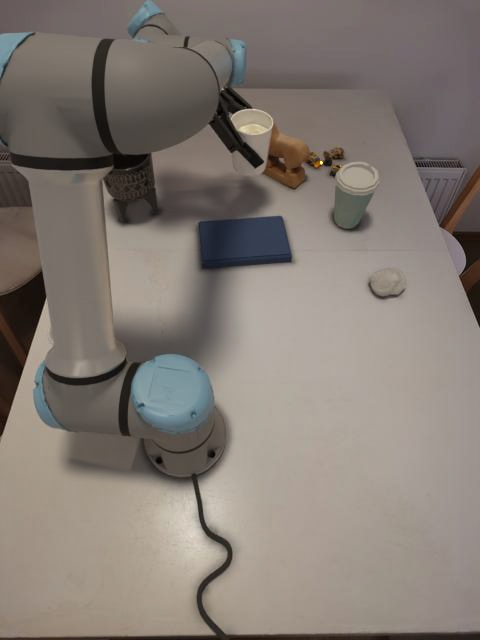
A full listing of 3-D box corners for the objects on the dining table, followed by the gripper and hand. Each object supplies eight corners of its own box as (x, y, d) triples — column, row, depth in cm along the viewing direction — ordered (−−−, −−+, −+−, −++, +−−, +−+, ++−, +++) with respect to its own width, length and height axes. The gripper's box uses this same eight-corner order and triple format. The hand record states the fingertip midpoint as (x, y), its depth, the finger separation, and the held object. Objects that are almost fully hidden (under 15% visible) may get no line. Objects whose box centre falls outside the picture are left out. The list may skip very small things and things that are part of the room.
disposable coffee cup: (347, 240, 111) (362, 194, 98) (316, 218, 115) (327, 171, 102) (373, 221, 115) (390, 175, 102) (342, 200, 119) (356, 153, 106)
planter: (165, 196, 118) (156, 138, 104) (155, 229, 111) (144, 172, 97) (119, 192, 119) (103, 134, 104) (106, 225, 112) (87, 168, 97)
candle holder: (221, 166, 107) (221, 121, 97) (247, 148, 111) (249, 103, 101) (252, 184, 104) (254, 140, 94) (277, 164, 108) (282, 120, 98)
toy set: (359, 163, 128) (363, 149, 124) (335, 181, 123) (338, 166, 119) (327, 145, 132) (330, 131, 128) (303, 161, 128) (305, 147, 124)
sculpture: (261, 155, 129) (264, 106, 117) (307, 179, 124) (315, 131, 111) (247, 165, 127) (249, 116, 114) (294, 190, 121) (301, 142, 108)
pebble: (377, 268, 106) (383, 254, 102) (408, 283, 103) (415, 269, 99) (361, 290, 102) (367, 277, 98) (393, 307, 99) (400, 294, 95)
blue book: (291, 261, 106) (292, 255, 104) (202, 268, 105) (201, 262, 103) (281, 221, 114) (282, 215, 112) (198, 227, 112) (198, 221, 110)
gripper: (196, 63, 100) (259, 134, 112) (169, 115, 88) (243, 189, 100) (217, 41, 95) (281, 118, 107) (192, 93, 83) (267, 173, 95)
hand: (263, 152), depth 104 cm, fingers closed on candle holder, 9 cm apart
